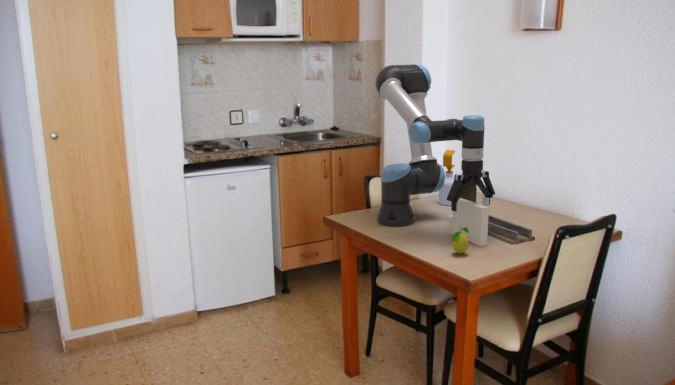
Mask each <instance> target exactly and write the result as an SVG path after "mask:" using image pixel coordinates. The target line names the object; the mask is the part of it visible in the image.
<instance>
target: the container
mask: <svg viewBox="0 0 675 385" xmlns="http://www.w3.org/2000/svg"><path fill="white" fill-rule="evenodd" d="M462 180H463V179H462ZM462 180H461V181H462ZM464 184H465V183H464ZM477 188H478V186H477V185H472V186H468V187H467V188H466V189H465V191H464V192H463V194H462V195H461V197H460V198H462V199H465V200H469V201H472V202H475V203H477V190H478V189H477Z"/></svg>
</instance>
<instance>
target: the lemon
mask: <svg viewBox="0 0 675 385" xmlns="http://www.w3.org/2000/svg"><path fill="white" fill-rule="evenodd" d="M461 229H462V228H461ZM462 230H463V231H464V232H466V233H469V231H468V228H467V227H464V228H463V229H462ZM460 231H461V230H460ZM460 231H459V232H456V233H454V235H453V234H452V237H451V246H452V249H453V250H454V252H456V253H457V254H458V255H462V253H465V252H467V251H468V250H469V246H470V244H469V241H468V238H467V236H466V235H465V234H463V233H461V232H460Z"/></svg>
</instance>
